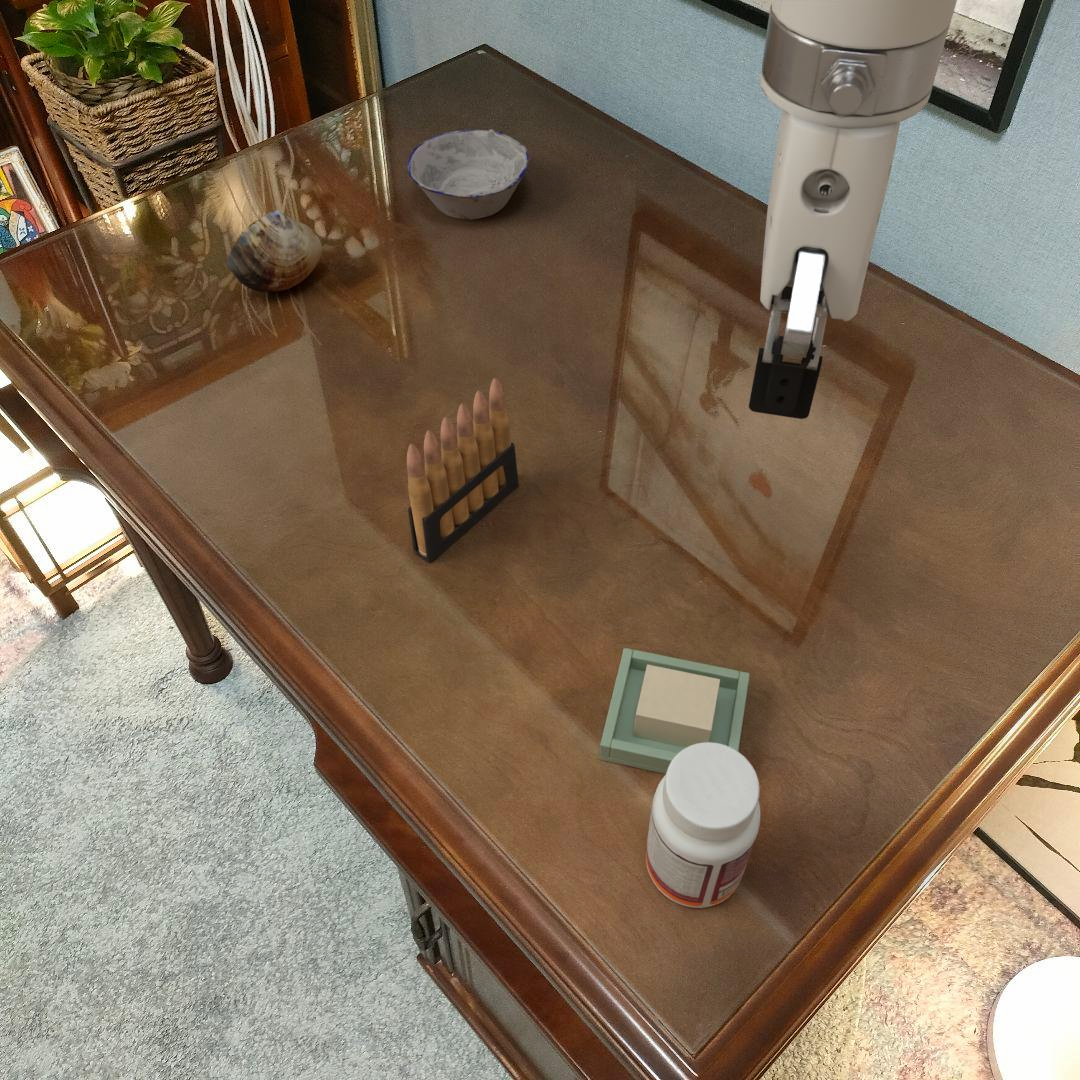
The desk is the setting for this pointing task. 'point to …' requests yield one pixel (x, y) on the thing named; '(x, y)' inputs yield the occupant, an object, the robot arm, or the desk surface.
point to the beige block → (676, 707)
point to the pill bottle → (703, 825)
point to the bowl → (469, 171)
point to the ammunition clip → (460, 474)
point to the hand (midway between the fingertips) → (786, 353)
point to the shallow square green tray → (624, 703)
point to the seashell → (274, 253)
